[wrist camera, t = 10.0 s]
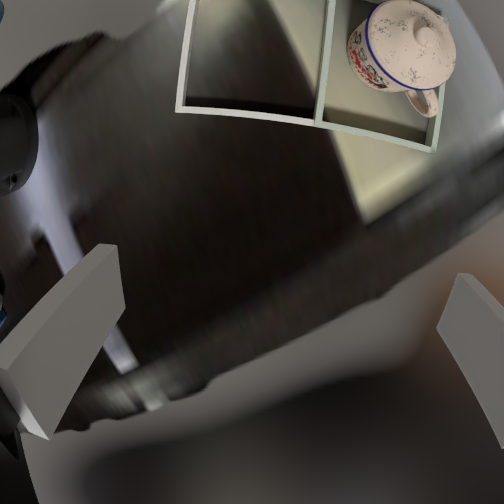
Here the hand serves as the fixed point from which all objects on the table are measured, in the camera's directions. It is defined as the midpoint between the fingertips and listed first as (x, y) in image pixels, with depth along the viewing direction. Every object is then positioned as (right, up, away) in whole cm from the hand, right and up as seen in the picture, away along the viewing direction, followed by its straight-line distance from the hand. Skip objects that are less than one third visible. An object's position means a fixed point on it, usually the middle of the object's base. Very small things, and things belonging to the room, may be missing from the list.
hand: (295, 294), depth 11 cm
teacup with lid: (+14, +22, +17) cm, 31 cm away
